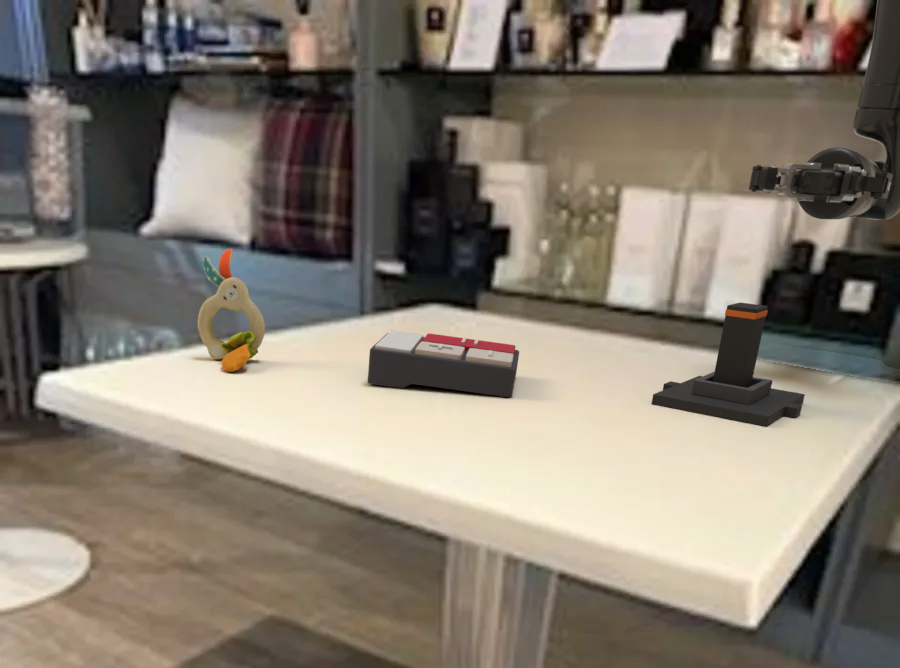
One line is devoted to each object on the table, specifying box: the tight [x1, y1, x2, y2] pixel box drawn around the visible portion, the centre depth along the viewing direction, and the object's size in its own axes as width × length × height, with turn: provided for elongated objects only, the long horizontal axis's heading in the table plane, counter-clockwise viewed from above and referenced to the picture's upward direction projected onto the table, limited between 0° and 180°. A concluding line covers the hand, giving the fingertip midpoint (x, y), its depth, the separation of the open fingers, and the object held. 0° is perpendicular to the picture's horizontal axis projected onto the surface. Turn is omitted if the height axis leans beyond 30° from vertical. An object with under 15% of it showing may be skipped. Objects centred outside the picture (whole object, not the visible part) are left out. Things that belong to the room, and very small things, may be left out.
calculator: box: [367, 329, 520, 398], centre depth 94 cm, size 11×4×15 cm
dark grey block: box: [713, 302, 769, 388], centre depth 91 cm, size 4×3×9 cm
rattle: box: [197, 248, 266, 373], centre depth 93 cm, size 8×8×12 cm
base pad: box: [651, 371, 806, 427], centre depth 93 cm, size 14×14×2 cm
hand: (804, 179), depth 92 cm, fingers open, 8 cm apart
